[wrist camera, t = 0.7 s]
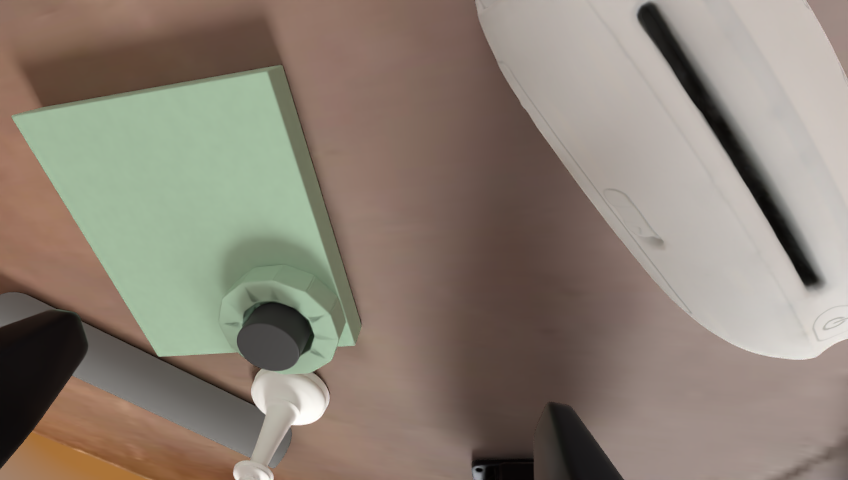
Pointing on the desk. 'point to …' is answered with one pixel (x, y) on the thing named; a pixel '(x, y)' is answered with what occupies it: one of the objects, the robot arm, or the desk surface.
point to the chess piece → (281, 415)
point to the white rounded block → (701, 149)
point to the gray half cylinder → (158, 385)
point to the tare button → (273, 337)
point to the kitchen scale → (201, 209)
